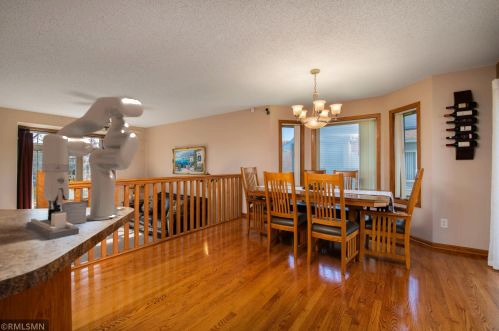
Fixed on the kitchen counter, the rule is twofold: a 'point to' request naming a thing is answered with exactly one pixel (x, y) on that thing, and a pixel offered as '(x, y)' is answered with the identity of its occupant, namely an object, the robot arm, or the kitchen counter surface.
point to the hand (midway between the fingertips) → (54, 219)
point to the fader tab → (58, 219)
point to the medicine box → (75, 212)
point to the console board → (51, 229)
